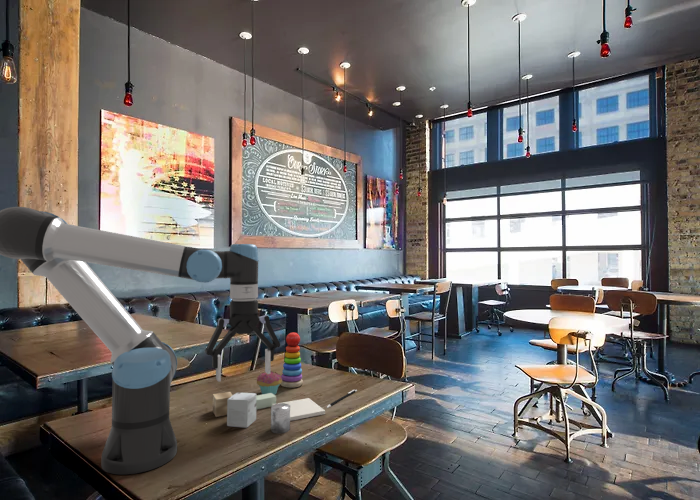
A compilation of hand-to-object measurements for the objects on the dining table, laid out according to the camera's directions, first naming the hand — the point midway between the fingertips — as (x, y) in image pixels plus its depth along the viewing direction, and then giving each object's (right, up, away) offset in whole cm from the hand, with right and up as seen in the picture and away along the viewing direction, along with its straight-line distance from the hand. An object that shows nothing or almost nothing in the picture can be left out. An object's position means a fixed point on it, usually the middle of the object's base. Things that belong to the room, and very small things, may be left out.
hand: (243, 376), depth 111 cm
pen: (+27, -14, +19) cm, 36 cm away
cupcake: (+2, -13, +24) cm, 27 cm away
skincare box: (-1, -13, 0) cm, 13 cm away
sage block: (+3, -13, +13) cm, 19 cm away
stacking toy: (+8, -14, +33) cm, 37 cm away
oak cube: (-8, -13, +7) cm, 17 cm away
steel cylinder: (+11, -13, -4) cm, 17 cm away
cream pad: (+14, -13, +9) cm, 21 cm away
